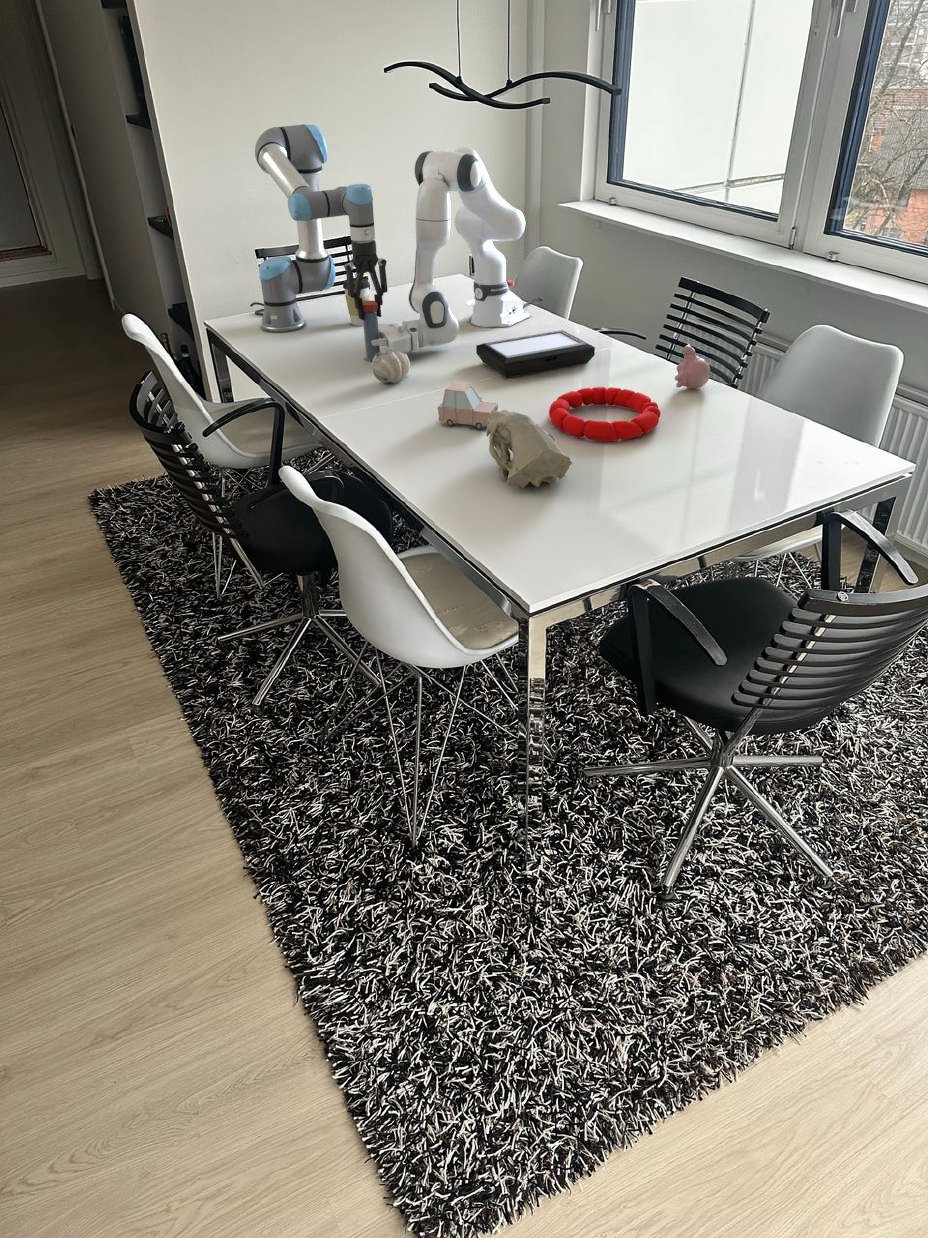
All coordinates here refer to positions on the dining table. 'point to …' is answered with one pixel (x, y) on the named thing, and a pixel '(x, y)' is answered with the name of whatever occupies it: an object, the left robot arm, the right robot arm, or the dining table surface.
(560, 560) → the dining table surface
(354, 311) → the coffee cup
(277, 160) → the left robot arm
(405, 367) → the seashell
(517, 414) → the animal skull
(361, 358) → the dining table surface
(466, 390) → the toy car
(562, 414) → the decorative ring
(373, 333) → the jar
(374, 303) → the lid
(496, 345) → the electronic device
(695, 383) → the figurine
